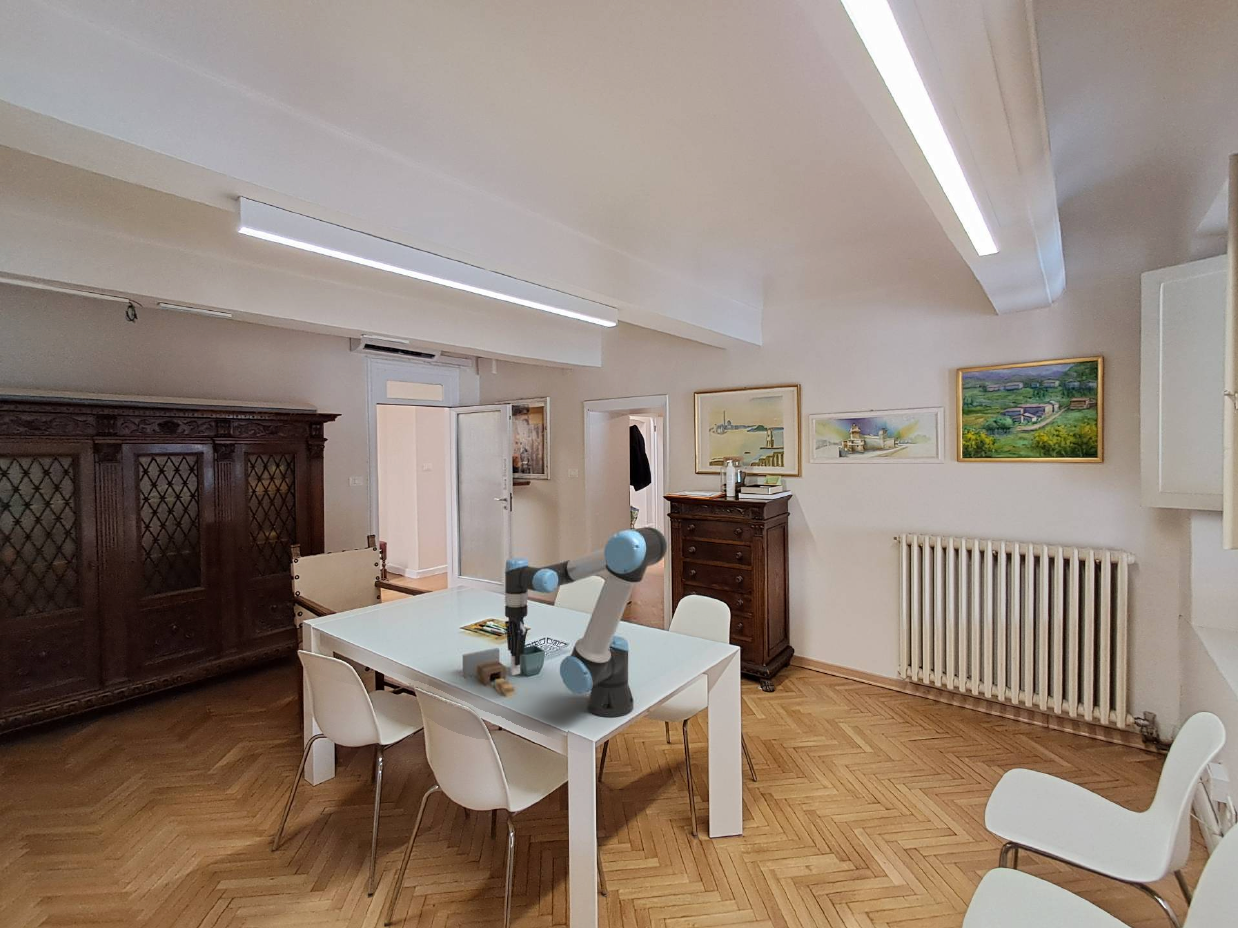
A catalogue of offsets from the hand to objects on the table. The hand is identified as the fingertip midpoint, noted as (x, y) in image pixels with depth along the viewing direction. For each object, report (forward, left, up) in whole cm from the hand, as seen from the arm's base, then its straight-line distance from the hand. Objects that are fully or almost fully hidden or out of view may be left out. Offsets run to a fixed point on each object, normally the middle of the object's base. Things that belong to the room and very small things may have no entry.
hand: (515, 673), depth 194 cm
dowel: (+10, 0, -9) cm, 13 cm away
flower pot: (+20, -15, -9) cm, 26 cm away
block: (+22, 0, -9) cm, 23 cm away
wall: (+31, 0, -9) cm, 32 cm away
